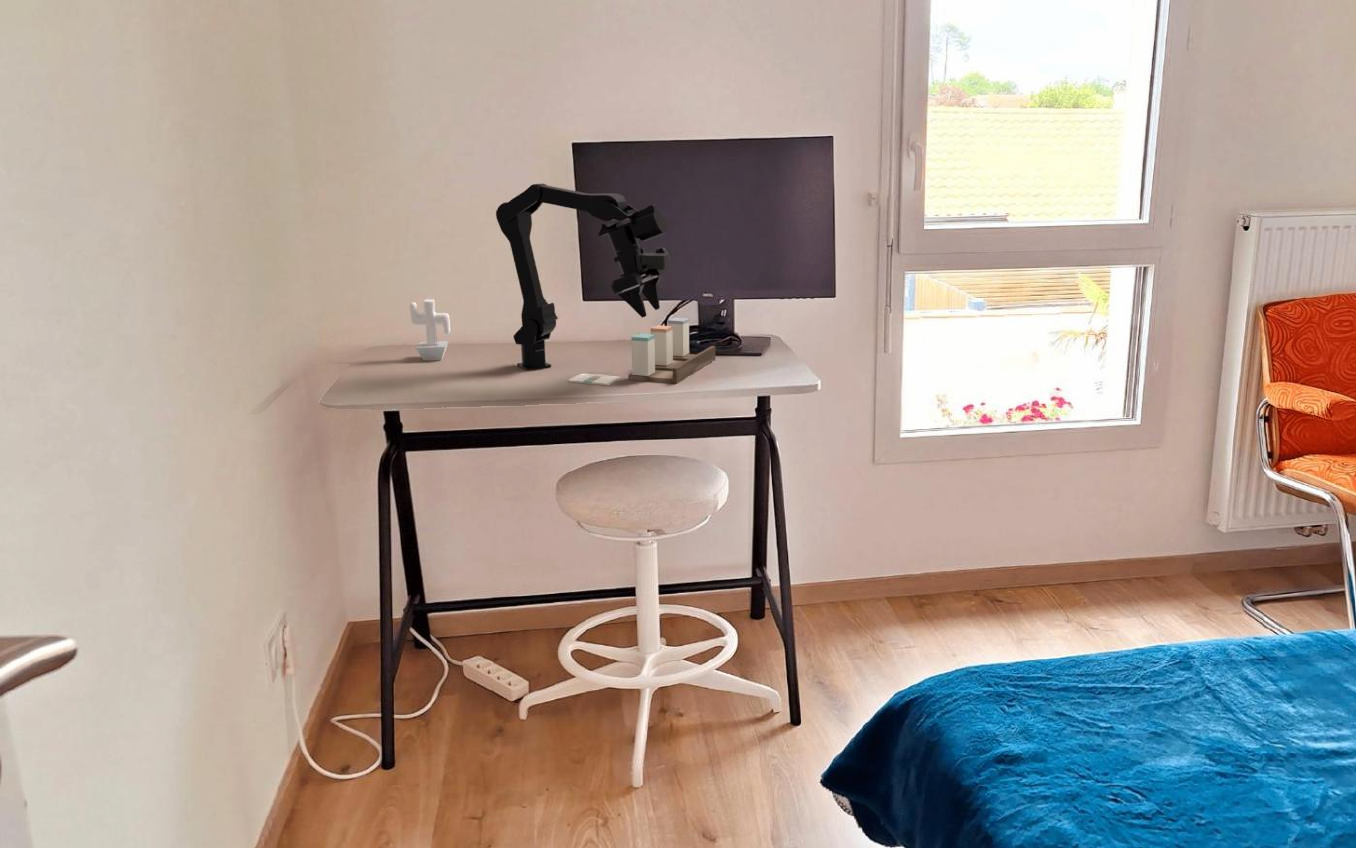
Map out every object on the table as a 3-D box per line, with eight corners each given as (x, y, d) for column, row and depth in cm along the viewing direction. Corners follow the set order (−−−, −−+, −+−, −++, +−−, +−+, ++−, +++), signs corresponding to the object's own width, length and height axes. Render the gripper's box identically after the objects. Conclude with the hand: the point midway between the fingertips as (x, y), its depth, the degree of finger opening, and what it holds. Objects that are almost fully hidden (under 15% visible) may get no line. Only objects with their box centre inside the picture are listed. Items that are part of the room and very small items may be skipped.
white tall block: (632, 374, 225) (631, 336, 222) (639, 370, 228) (638, 333, 226) (648, 376, 223) (647, 338, 221) (655, 372, 227) (654, 334, 224)
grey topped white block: (668, 355, 244) (668, 320, 242) (674, 352, 248) (674, 317, 245) (683, 356, 243) (683, 321, 240) (689, 353, 246) (688, 318, 244)
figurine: (450, 361, 245) (446, 301, 241) (412, 362, 244) (407, 302, 240) (454, 355, 252) (449, 296, 248) (416, 356, 251) (411, 297, 247)
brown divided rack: (628, 379, 225) (628, 364, 224) (670, 356, 249) (670, 342, 248) (676, 383, 221) (676, 368, 220) (715, 359, 244) (715, 346, 243)
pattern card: (567, 381, 223) (567, 379, 223) (582, 374, 230) (582, 372, 230) (607, 385, 220) (607, 382, 220) (620, 378, 226) (620, 375, 226)
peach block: (651, 364, 235) (650, 328, 232) (657, 361, 238) (657, 325, 236) (666, 365, 233) (666, 329, 231) (672, 362, 237) (672, 326, 234)
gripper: (643, 241, 210) (669, 309, 213) (670, 231, 227) (694, 295, 230) (599, 258, 215) (625, 325, 217) (629, 247, 231) (652, 309, 234)
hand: (651, 312), depth 225 cm, fingers open, 9 cm apart
